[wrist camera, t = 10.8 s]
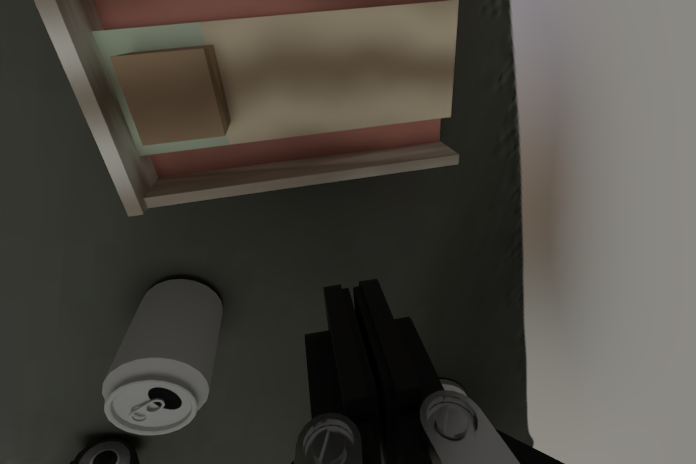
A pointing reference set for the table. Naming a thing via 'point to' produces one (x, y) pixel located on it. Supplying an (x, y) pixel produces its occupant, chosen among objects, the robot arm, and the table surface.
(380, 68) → the trap box
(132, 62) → the walnut block
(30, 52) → the table surface
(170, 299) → the can
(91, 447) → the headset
